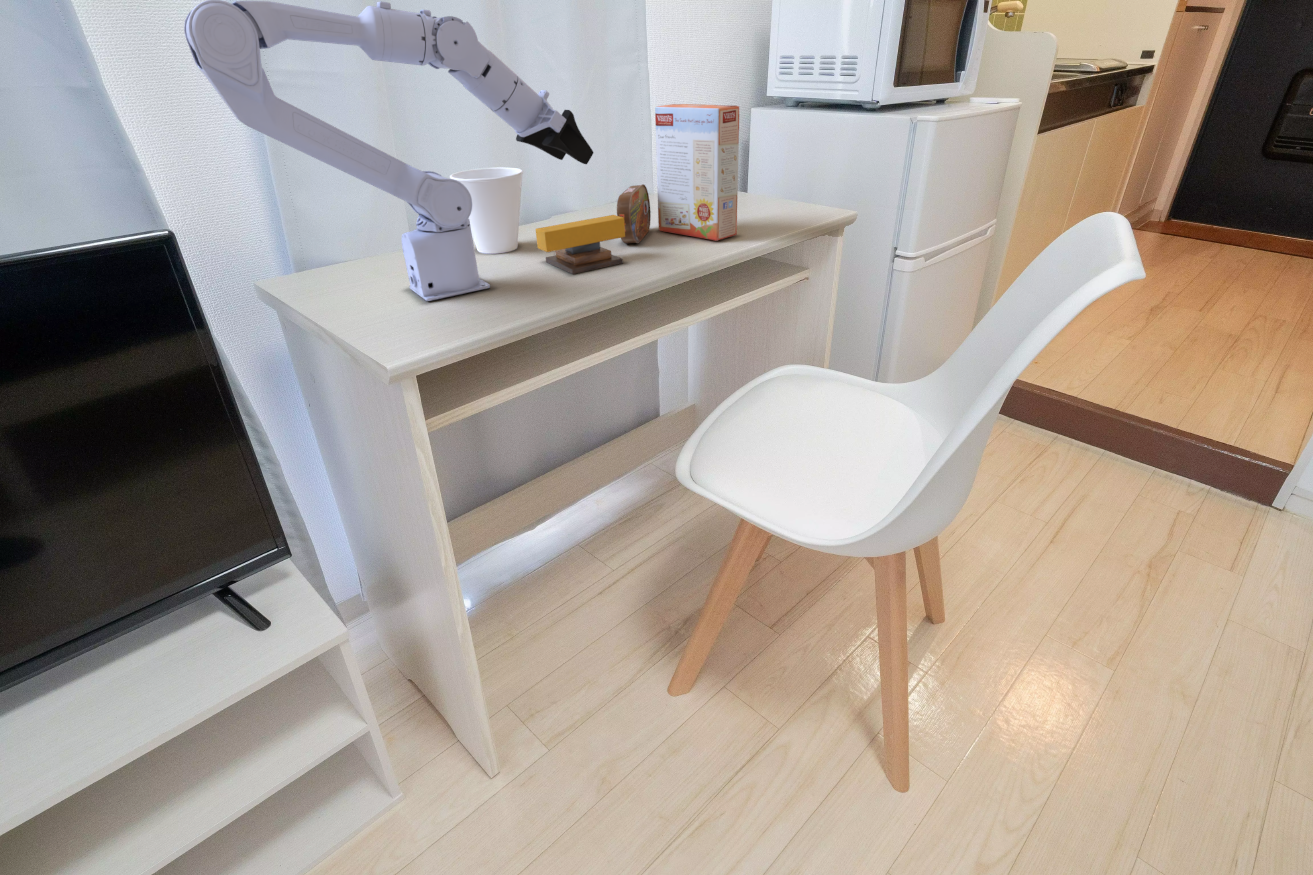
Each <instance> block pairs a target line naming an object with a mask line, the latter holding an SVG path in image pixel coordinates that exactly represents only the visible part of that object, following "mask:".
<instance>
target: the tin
mask: <svg viewBox="0 0 1313 875" xmlns="http://www.w3.org/2000/svg"><path fill="white" fill-rule="evenodd" d="M616 201H617V202H616V216H619V217H623V218H624V226H625V237H622V238H620V240H621V241H622V243H624V244H640V243H641V241H642V240H643V239H644V238H645V236H646V235H647V234H648V233H649V232H650V228H651V219H652V218H651V201H650V196H649V190H648V188H647V186H646V185H645V184H639V185H638V184H637V185H636V184H635V185H631V186H629V187H628V188H626V190H624V191H623V192H622V193H621V194H620V195H619V196H618V199H617V200H616Z"/></svg>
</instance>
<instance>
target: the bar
mask: <svg viewBox="0 0 1313 875" xmlns="http://www.w3.org/2000/svg"><path fill="white" fill-rule="evenodd" d="M535 236H536V243H537V244H536V245H537V246H536V247H537V249H539V250H541V251H543V252H546V253H550V252H555V251H556V250H561V249H566V248H571V247H576V246H581V245H586V244H592V243H597V242H600V243H601V242H607V241H612V240H615V239H616V240H617V239H621V238H622V237H625V226H624V218H623V217H619V216H617V214H609V215H604V216H600V217H593V218H588V219H581V220H576V221H570V222H566V223H565V222H564V223H559V224H554V225H549V226H543V227H538V228H535Z"/></svg>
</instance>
